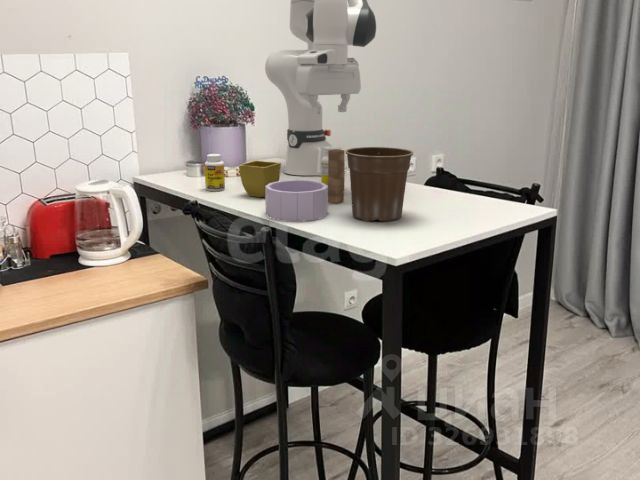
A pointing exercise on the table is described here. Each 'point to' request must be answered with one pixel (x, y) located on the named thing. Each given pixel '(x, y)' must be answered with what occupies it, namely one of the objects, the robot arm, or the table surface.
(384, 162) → the plant pot
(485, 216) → the table surface
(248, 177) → the flower pot
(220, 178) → the supplement bottle
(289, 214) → the lilac round bowl
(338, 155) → the brown wooden block
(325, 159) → the supplement bottle
